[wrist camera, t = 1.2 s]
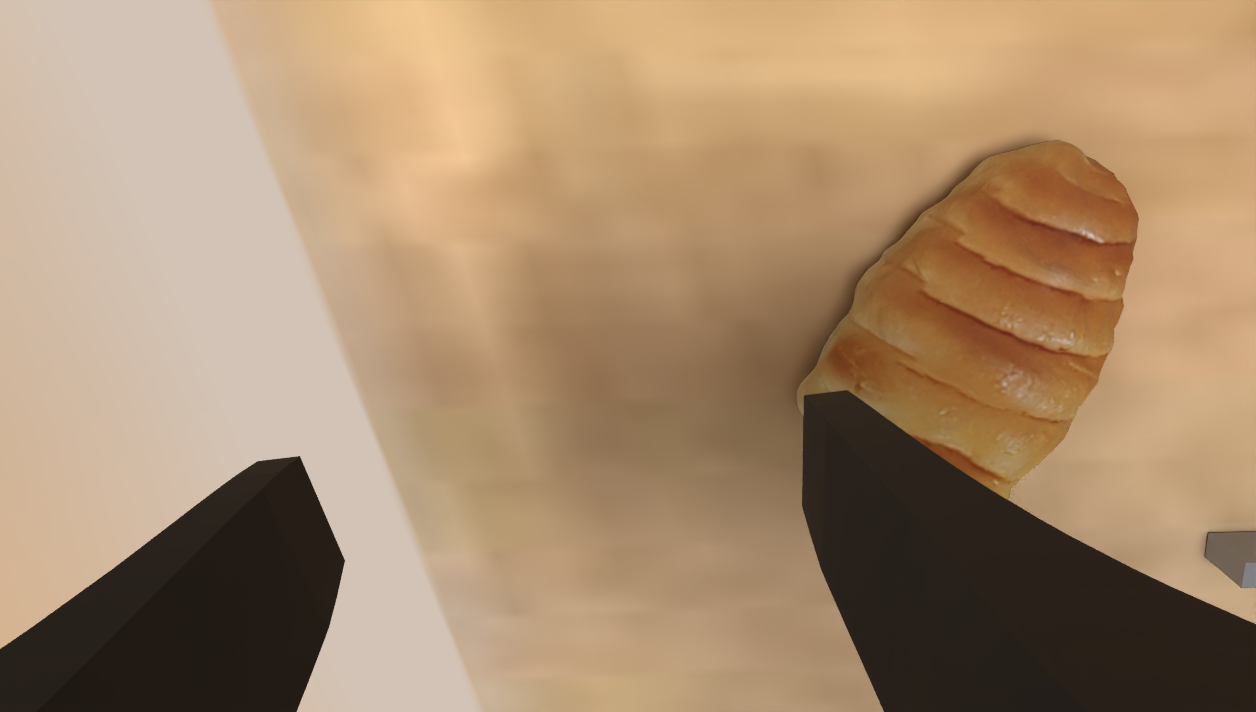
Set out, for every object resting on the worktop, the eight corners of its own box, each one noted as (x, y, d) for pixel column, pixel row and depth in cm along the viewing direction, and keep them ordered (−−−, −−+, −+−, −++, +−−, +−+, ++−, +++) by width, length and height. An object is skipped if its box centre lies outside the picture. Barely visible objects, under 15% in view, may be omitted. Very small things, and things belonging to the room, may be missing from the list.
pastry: (940, 99, 18) (998, 90, 14) (1176, 203, 18) (1293, 220, 14) (778, 405, 21) (791, 461, 17) (981, 493, 21) (1037, 567, 17)
